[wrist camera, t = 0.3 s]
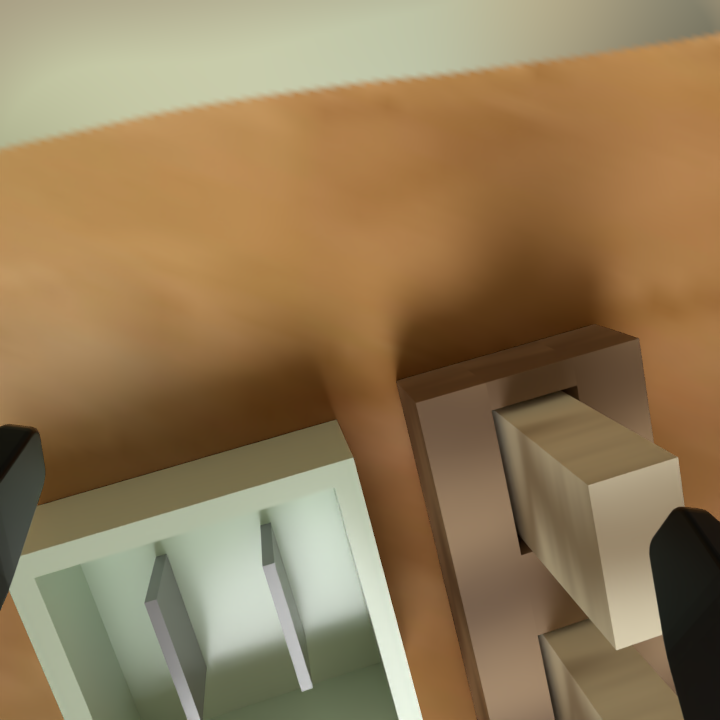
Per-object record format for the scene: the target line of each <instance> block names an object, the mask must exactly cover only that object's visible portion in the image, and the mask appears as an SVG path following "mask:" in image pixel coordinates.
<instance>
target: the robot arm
mask: <svg viewBox="0 0 720 720" xmlns="http://www.w3.org/2000/svg"><path fill="white" fill-rule="evenodd" d="M44 480H45V464H44V458H43V451H42V445H41V439H40V434H39V432H38V430H37V429H36V428H33V427H28V426H20V425H12V424H6V425H3V426H1V427H0V610H1V608H2V605H3V603H4V601H5V598H6V596H7V593H8V591H9V588H10V586H11V583H12V580H13V577H14V574H15V571H16V568H17V565H18V562H19V559H20V556H21V553H22V550H23V547H24V543H25V540H26V537H27V534H28V531H29V528H30V525H31V522H32V519H33V516H34V513H35V510H36V507H37V504H38V501H39V497H40V494H41V491H42V488H43V485H44ZM649 558H650V564H651V570H652V576H653V582H654V587H655V593H656V599H657V605H658V611H659V617H660V623H661V629H662V635H663V641H664V646H665V651H666V655H667V659H668V663H669V667H670V671H671V675H672V678H673V682H674V686H675V689H676V693H677V697H678V700H679V704H680V707H681V711H682V715H683V718H684V720H720V522H719V521H718V520H717V519H716V518H715V517H714V516H712V515H711V514H710V513H709V512H707V511H706V510H703V509H698V508H690V507H682V506H681V507H677V508H675V509H673V510H672V511H671V513H670V514H669V515H668V517H667V518H666V520H665V521H664V522H663V524H662V525H661V527H660V528H659V529H658V531H657V532H656V534H655V535H654V536H653V538H652V540H651V543H650V547H649Z"/></svg>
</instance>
